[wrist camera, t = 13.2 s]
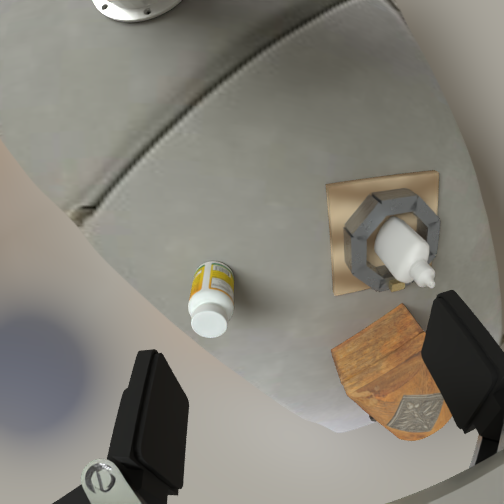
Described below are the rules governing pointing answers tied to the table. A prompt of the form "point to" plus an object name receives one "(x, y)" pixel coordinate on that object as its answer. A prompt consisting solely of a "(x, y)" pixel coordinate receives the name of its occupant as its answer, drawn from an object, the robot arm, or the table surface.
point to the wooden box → (392, 376)
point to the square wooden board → (346, 203)
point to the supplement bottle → (211, 299)
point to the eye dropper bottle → (404, 253)
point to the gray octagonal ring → (369, 220)
